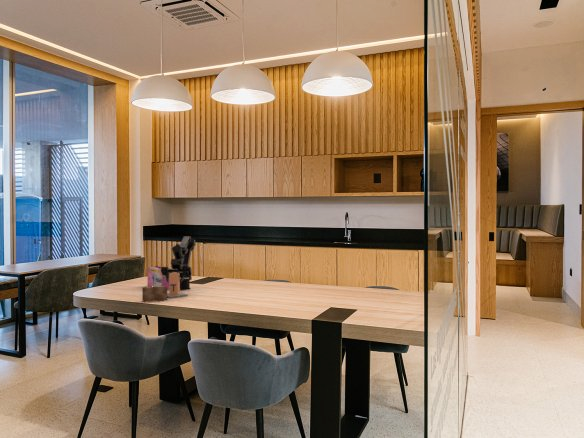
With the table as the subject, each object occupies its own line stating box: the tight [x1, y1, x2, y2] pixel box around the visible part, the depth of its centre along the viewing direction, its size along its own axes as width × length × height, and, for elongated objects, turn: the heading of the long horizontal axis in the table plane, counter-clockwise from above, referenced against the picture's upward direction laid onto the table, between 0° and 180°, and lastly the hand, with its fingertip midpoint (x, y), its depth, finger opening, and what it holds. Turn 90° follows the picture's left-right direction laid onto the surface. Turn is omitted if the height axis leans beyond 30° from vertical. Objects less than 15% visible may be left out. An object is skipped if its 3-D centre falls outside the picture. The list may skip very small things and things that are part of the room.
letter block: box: [169, 272, 181, 295], centre depth 283 cm, size 5×5×13 cm
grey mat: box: [167, 291, 189, 299], centre depth 283 cm, size 12×12×1 cm
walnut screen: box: [141, 286, 168, 303], centre depth 268 cm, size 14×5×8 cm, turn 107°
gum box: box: [147, 265, 173, 290], centre depth 316 cm, size 24×8×14 cm, turn 44°
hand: (174, 281), depth 282 cm, fingers open, 8 cm apart
